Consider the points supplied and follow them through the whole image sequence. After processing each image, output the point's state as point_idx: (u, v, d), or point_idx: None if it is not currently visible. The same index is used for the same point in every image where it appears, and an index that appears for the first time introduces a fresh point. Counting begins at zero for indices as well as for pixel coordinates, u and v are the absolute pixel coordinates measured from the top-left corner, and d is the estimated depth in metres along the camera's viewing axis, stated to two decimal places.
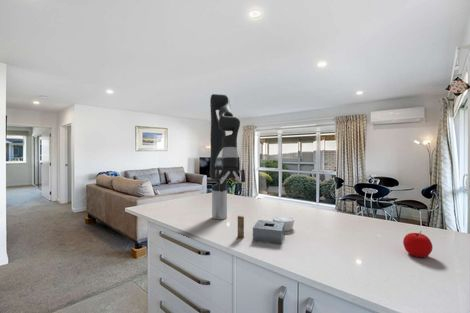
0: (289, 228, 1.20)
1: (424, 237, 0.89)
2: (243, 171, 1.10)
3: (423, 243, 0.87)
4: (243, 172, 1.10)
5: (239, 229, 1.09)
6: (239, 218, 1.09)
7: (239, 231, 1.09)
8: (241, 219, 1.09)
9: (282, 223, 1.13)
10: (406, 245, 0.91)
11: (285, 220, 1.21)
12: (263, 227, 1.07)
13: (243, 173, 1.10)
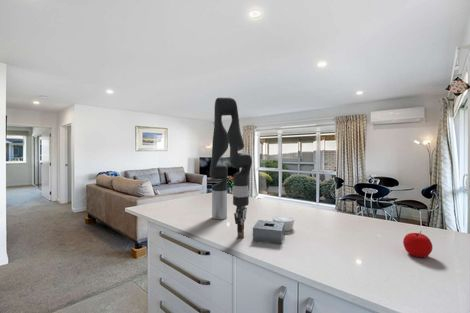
0: (289, 228, 1.20)
1: (424, 237, 0.89)
2: (246, 209, 1.16)
3: (423, 243, 0.87)
4: (246, 210, 1.15)
5: None
6: None
7: None
8: None
9: (282, 223, 1.13)
10: (406, 245, 0.91)
11: (285, 220, 1.21)
12: (263, 227, 1.07)
13: None
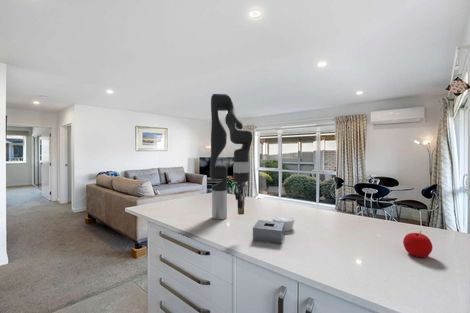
0: (289, 228, 1.20)
1: (424, 237, 0.89)
2: (246, 186, 1.16)
3: (423, 243, 0.87)
4: (246, 187, 1.15)
5: None
6: None
7: None
8: None
9: (282, 223, 1.13)
10: (406, 245, 0.91)
11: (285, 220, 1.21)
12: (263, 227, 1.07)
13: (246, 188, 1.15)
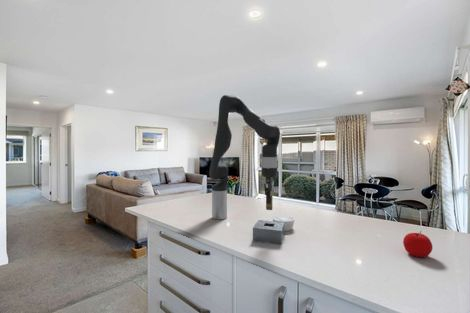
0: (289, 228, 1.20)
1: (424, 237, 0.89)
2: None
3: (423, 243, 0.87)
4: None
5: None
6: None
7: None
8: None
9: (282, 223, 1.13)
10: (406, 245, 0.91)
11: (285, 220, 1.21)
12: (263, 227, 1.07)
13: None
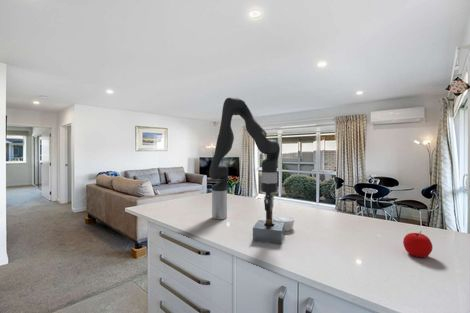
0: (289, 228, 1.20)
1: (424, 237, 0.89)
2: None
3: (423, 243, 0.87)
4: None
5: None
6: None
7: None
8: None
9: (282, 223, 1.13)
10: (406, 245, 0.91)
11: (285, 220, 1.21)
12: (263, 227, 1.07)
13: None
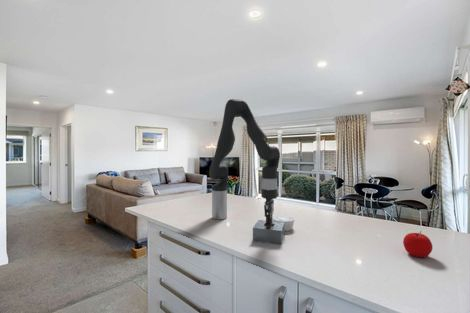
0: (289, 228, 1.20)
1: (424, 237, 0.89)
2: None
3: (423, 243, 0.87)
4: None
5: None
6: None
7: None
8: None
9: (282, 223, 1.13)
10: (406, 245, 0.91)
11: (285, 220, 1.21)
12: (263, 227, 1.07)
13: None
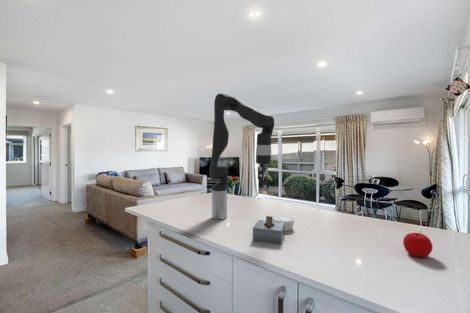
0: (289, 228, 1.20)
1: (424, 237, 0.89)
2: (267, 166, 1.22)
3: (423, 243, 0.87)
4: (267, 167, 1.22)
5: None
6: (268, 218, 1.09)
7: None
8: (270, 219, 1.09)
9: (282, 223, 1.13)
10: (406, 245, 0.91)
11: (285, 220, 1.21)
12: (263, 227, 1.07)
13: None
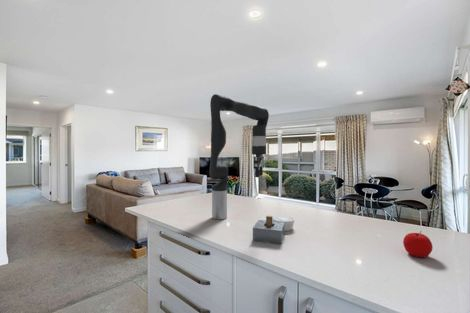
0: (289, 228, 1.20)
1: (424, 237, 0.89)
2: (263, 158, 1.26)
3: (423, 243, 0.87)
4: (263, 159, 1.26)
5: None
6: (268, 218, 1.09)
7: None
8: (270, 219, 1.09)
9: (282, 223, 1.13)
10: (406, 245, 0.91)
11: (285, 220, 1.21)
12: (263, 227, 1.07)
13: (263, 159, 1.26)
